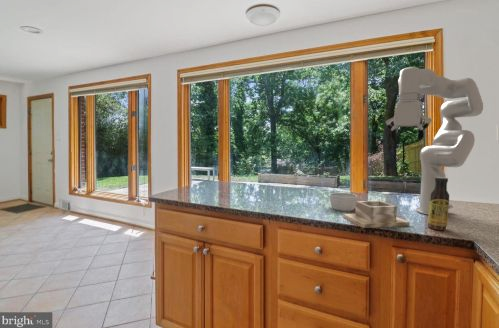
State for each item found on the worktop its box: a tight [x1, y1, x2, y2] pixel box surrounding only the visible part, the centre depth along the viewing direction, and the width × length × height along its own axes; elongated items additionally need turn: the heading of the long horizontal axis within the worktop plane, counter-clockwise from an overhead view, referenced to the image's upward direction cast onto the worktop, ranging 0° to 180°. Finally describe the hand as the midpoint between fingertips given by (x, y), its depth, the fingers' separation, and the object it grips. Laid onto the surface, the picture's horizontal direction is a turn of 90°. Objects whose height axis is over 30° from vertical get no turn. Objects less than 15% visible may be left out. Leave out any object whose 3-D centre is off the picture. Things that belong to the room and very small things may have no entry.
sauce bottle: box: [427, 177, 450, 231], centre depth 109 cm, size 7×6×20 cm
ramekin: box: [329, 192, 358, 212], centre depth 143 cm, size 13×13×7 cm
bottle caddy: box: [343, 200, 411, 229], centre depth 120 cm, size 20×16×8 cm
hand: (406, 140), depth 120 cm, fingers open, 9 cm apart
